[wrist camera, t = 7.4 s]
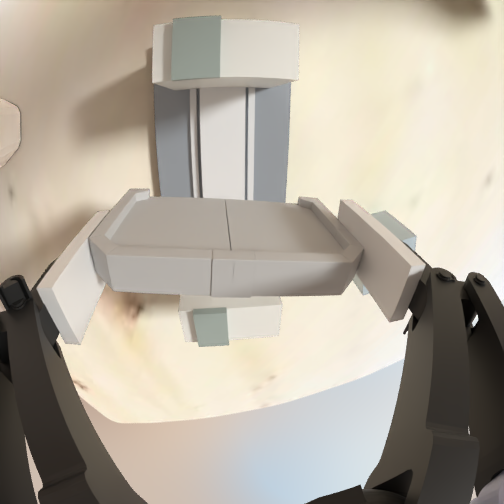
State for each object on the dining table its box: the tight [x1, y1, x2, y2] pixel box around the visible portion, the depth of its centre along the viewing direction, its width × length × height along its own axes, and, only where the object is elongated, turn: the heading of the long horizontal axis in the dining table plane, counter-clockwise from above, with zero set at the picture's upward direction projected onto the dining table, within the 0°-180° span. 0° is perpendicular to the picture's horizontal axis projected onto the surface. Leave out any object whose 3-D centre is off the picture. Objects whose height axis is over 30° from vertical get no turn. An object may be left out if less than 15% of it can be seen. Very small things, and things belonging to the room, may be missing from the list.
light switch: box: [89, 189, 364, 298], centre depth 13 cm, size 2×12×8 cm, turn 84°
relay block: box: [353, 211, 416, 295], centre depth 25 cm, size 5×6×7 cm
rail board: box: [154, 82, 291, 203], centre depth 22 cm, size 24×11×2 cm, turn 179°
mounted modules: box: [152, 16, 299, 347], centre depth 19 cm, size 22×8×8 cm, turn 179°
